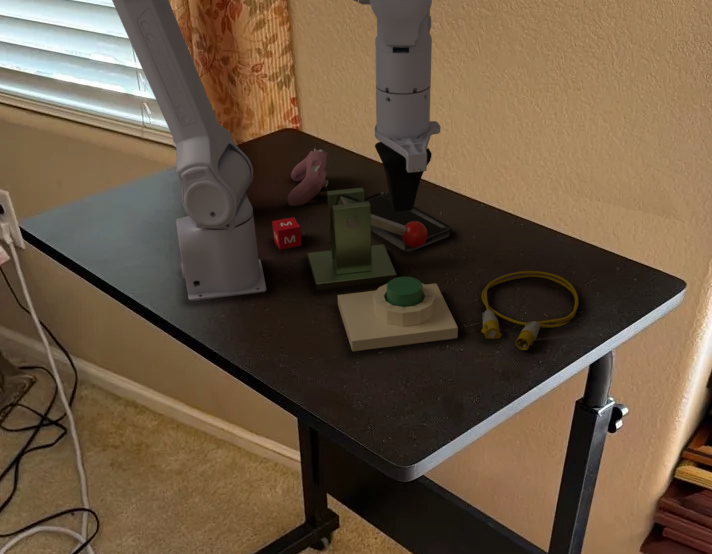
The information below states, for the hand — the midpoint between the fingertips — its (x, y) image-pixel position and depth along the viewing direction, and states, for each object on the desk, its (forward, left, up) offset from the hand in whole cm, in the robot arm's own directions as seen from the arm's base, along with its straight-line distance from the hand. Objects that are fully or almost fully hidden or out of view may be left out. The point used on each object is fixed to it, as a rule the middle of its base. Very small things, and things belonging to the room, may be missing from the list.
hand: (402, 208), depth 101 cm
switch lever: (-2, +5, -6) cm, 8 cm away
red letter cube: (-12, +14, -11) cm, 22 cm away
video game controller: (-7, +29, -11) cm, 32 cm away
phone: (+3, +16, -10) cm, 20 cm away
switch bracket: (-5, +5, -10) cm, 13 cm away
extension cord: (+13, -8, -11) cm, 18 cm away
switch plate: (-2, -8, -10) cm, 13 cm away
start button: (-1, -8, -7) cm, 11 cm away
